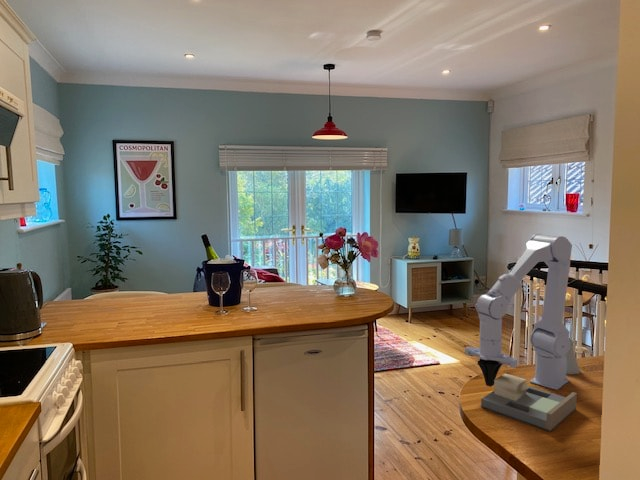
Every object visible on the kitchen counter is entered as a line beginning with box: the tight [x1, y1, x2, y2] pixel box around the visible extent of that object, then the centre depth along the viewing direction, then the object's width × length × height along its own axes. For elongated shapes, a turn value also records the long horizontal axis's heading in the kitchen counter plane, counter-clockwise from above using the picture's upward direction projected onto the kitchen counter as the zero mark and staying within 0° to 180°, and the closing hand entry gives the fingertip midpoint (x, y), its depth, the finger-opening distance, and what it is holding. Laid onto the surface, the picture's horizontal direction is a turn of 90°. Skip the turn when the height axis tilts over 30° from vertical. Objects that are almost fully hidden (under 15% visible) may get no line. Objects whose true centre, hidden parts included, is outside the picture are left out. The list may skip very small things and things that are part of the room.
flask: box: [565, 338, 581, 375], centre depth 149 cm, size 7×7×10 cm
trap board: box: [480, 385, 578, 433], centre depth 126 cm, size 16×18×4 cm
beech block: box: [493, 373, 527, 401], centre depth 129 cm, size 6×6×4 cm
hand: (490, 385), depth 134 cm, fingers closed
